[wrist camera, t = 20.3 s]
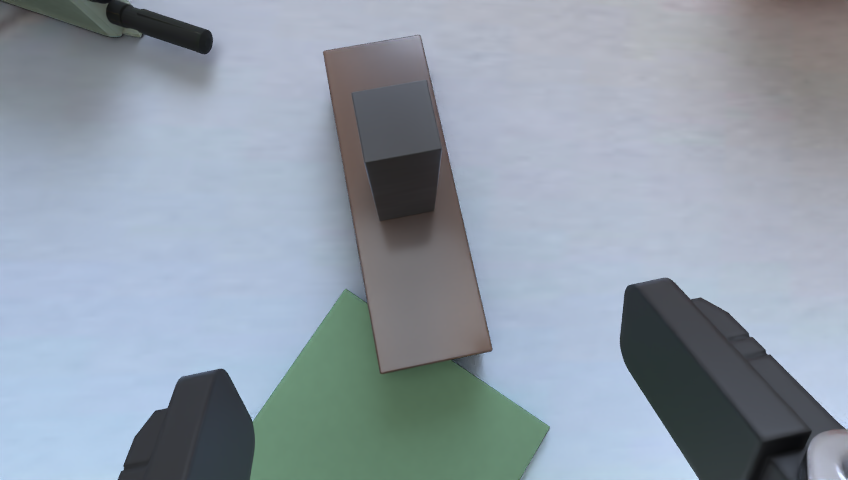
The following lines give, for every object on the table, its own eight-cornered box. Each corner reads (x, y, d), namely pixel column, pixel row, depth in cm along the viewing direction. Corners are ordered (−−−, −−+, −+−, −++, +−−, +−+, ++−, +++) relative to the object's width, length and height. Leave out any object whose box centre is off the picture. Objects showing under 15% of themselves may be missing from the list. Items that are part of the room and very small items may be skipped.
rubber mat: (422, 642, 22) (422, 647, 22) (212, 482, 24) (208, 484, 23) (548, 426, 24) (550, 427, 24) (346, 289, 26) (345, 288, 25)
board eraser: (384, 373, 24) (363, 381, 15) (332, 82, 28) (287, -66, 18) (484, 352, 25) (528, 346, 15) (419, 67, 28) (422, -87, 19)
